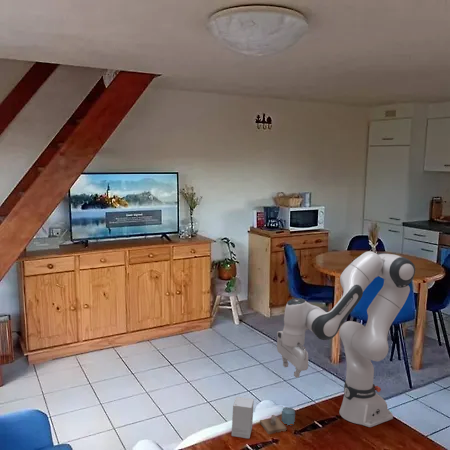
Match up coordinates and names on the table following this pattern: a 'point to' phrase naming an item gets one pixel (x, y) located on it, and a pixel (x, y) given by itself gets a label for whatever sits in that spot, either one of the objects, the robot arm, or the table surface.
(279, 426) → the post base
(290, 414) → the teal cap
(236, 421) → the supplement box
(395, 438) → the table surface
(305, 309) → the robot arm
